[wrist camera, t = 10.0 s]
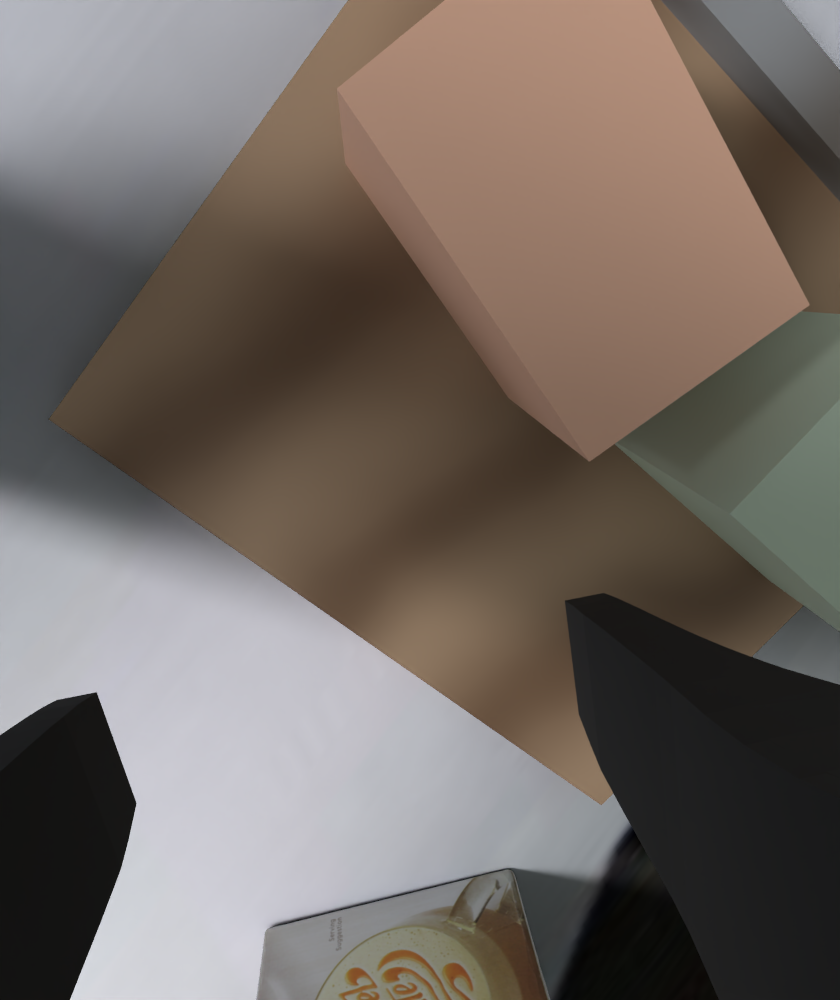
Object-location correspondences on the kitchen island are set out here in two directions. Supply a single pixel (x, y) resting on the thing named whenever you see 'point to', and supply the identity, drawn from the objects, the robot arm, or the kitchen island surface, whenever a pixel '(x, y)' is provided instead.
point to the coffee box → (410, 948)
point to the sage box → (763, 457)
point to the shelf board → (437, 396)
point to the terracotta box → (568, 205)
